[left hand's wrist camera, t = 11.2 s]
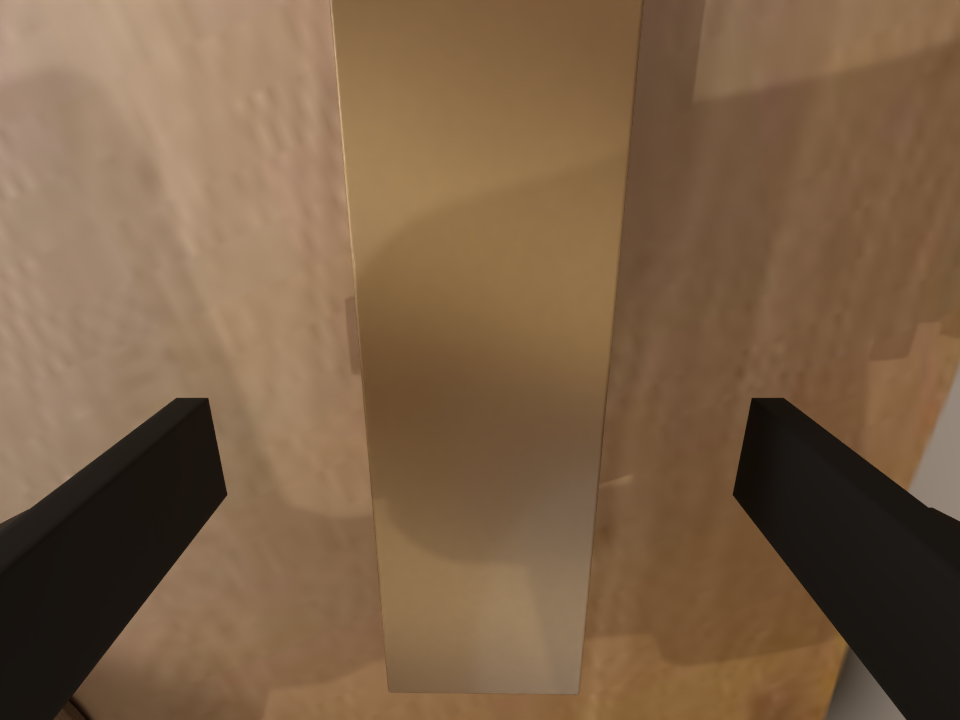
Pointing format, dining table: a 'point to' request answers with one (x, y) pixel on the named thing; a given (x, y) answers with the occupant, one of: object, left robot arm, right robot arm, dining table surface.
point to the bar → (485, 318)
